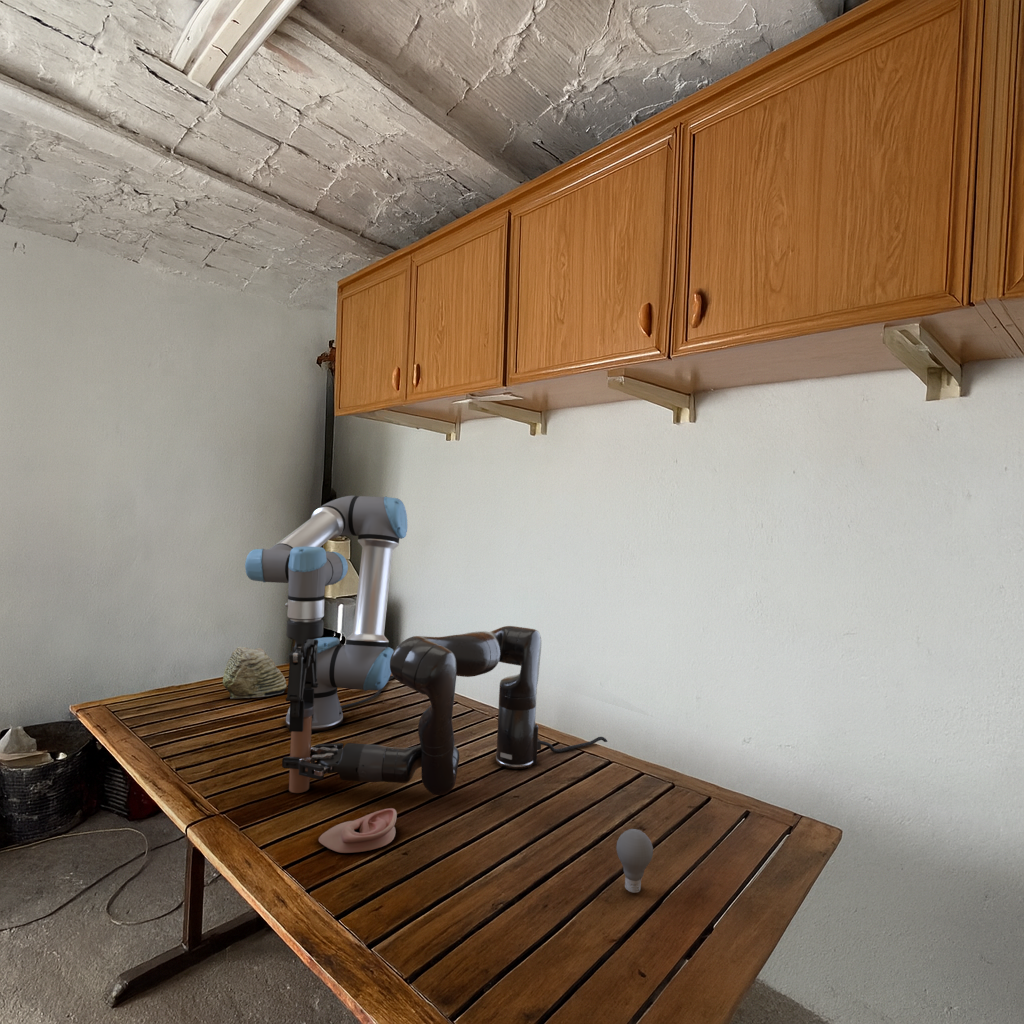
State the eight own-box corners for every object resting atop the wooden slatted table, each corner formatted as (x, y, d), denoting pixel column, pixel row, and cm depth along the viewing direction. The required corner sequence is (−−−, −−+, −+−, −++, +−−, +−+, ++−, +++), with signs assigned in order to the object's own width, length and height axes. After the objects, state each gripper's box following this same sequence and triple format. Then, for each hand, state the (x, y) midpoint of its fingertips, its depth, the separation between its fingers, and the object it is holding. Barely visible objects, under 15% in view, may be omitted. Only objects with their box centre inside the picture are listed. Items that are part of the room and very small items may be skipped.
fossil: (218, 695, 195) (220, 647, 195) (278, 685, 208) (279, 640, 207) (228, 703, 189) (230, 653, 188) (289, 692, 201) (290, 645, 201)
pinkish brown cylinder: (299, 782, 140) (302, 704, 140) (313, 787, 138) (316, 708, 138) (284, 789, 136) (287, 709, 136) (298, 794, 134) (301, 713, 134)
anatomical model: (310, 826, 114) (340, 797, 125) (309, 848, 114) (339, 817, 125) (379, 837, 111) (403, 806, 122) (378, 859, 111) (403, 827, 123)
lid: (294, 719, 133) (294, 711, 133) (286, 712, 137) (287, 704, 137) (317, 715, 136) (317, 707, 136) (309, 708, 140) (309, 700, 140)
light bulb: (610, 879, 108) (613, 822, 108) (644, 879, 109) (647, 822, 109) (619, 902, 102) (622, 840, 102) (655, 901, 103) (658, 840, 103)
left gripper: (301, 609, 146) (297, 708, 147) (272, 627, 126) (268, 741, 127) (334, 611, 147) (330, 709, 147) (310, 628, 127) (306, 742, 127)
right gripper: (375, 733, 143) (300, 728, 144) (356, 758, 129) (273, 753, 130) (373, 766, 143) (299, 761, 144) (354, 795, 129) (272, 789, 130)
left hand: (301, 724), depth 137 cm, fingers open, 7 cm apart
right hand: (287, 757), depth 137 cm, fingers closed on pinkish brown cylinder, 4 cm apart
